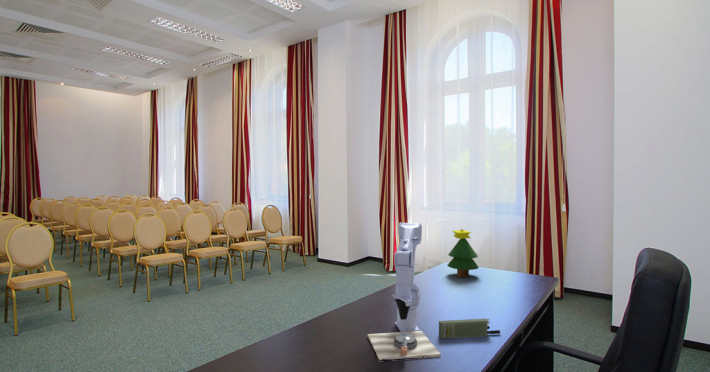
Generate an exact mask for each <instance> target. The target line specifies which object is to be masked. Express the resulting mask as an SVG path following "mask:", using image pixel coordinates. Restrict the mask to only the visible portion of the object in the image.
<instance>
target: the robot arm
mask: <svg viewBox="0 0 710 372" xmlns="http://www.w3.org/2000/svg"><path fill="white" fill-rule="evenodd" d="M397 231H398V234H397V235H398V236H399V237H398V238H399V243H398V246H397V251H395V252H394V261H393V262H394V269H395V270H394V271H395V293H393V294H392V297H393V298H394V301H395V302H394V303H395V304H396V306H397V309H396V311H397V312H396V316H397V317H396V321H395V322H394V324H395V325H396V327H397V328H398V330H399V332H410V331H421V329H420V328H419V327H418V326H417V308H418V307H420V305H421V292H420V290H421V289H420V287H419V286H418V285H417V284H415V282H414V280H415V263H416V261H415V260H416V259H415V258H416V249H417V246H419V245H420V244H421V243H422V235H423V225H422V223H421V222H415V223H414V222H399V223H398V229H397Z"/></svg>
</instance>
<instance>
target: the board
mask: <svg viewBox="0 0 710 372" xmlns="http://www.w3.org/2000/svg"><path fill="white" fill-rule="evenodd" d="M400 333H409V334H412V335H414V336H415V342H413V343H411V344H407V356H404V355H400V349H401V346H402V343H399V342H397V341H396V335H397V334H400ZM367 338H368V341H369V340H370V341H369V342H371V343H370V345H371V344H372V345H371V347H372V346H373V347H372V349H373V348H374V349H373V351H374V350H375V352H376V354H375V355H377V356H376V357H378V358H377V360H378V359H379V360H382V359H399V358H400V359H401V358H418V359H427V357H428V358H429V357H431V358H441V357H442V356H441V354H442V353H441V352H440V351H439V350H438V348H436V346H435V345H434V344H433V343H432V342H431V340H430V338H428V337H427V336H426V334H425V333H424V331H422V330H419V331H407V332H401V331H399V332H398V331H396V332H395V331H394V332H382V333H381V332H380V333H368V334H367ZM375 352H374V353H375ZM423 357H424V358H423ZM429 359H430V358H429ZM379 360H378V361H379Z"/></svg>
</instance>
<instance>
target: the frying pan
mask: <svg viewBox="0 0 710 372" xmlns="http://www.w3.org/2000/svg"><path fill="white" fill-rule="evenodd" d="M396 341H397V342H399V343H402V346H401V349H400V355H404V356H407V344H411V343H413V342H415V336H414V335H412V334H409V333H400V334H397V335H396Z"/></svg>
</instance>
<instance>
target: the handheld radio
mask: <svg viewBox="0 0 710 372" xmlns="http://www.w3.org/2000/svg"><path fill="white" fill-rule="evenodd" d="M489 324H490V318H471V319H451V320H450V319H449V320H438V338H439V339H459V338H482V337H488V335H497V334H498V335H500V334H501V330H500V329H499V330H498V329H497V330H490V328H491V326H490V325H489Z"/></svg>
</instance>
